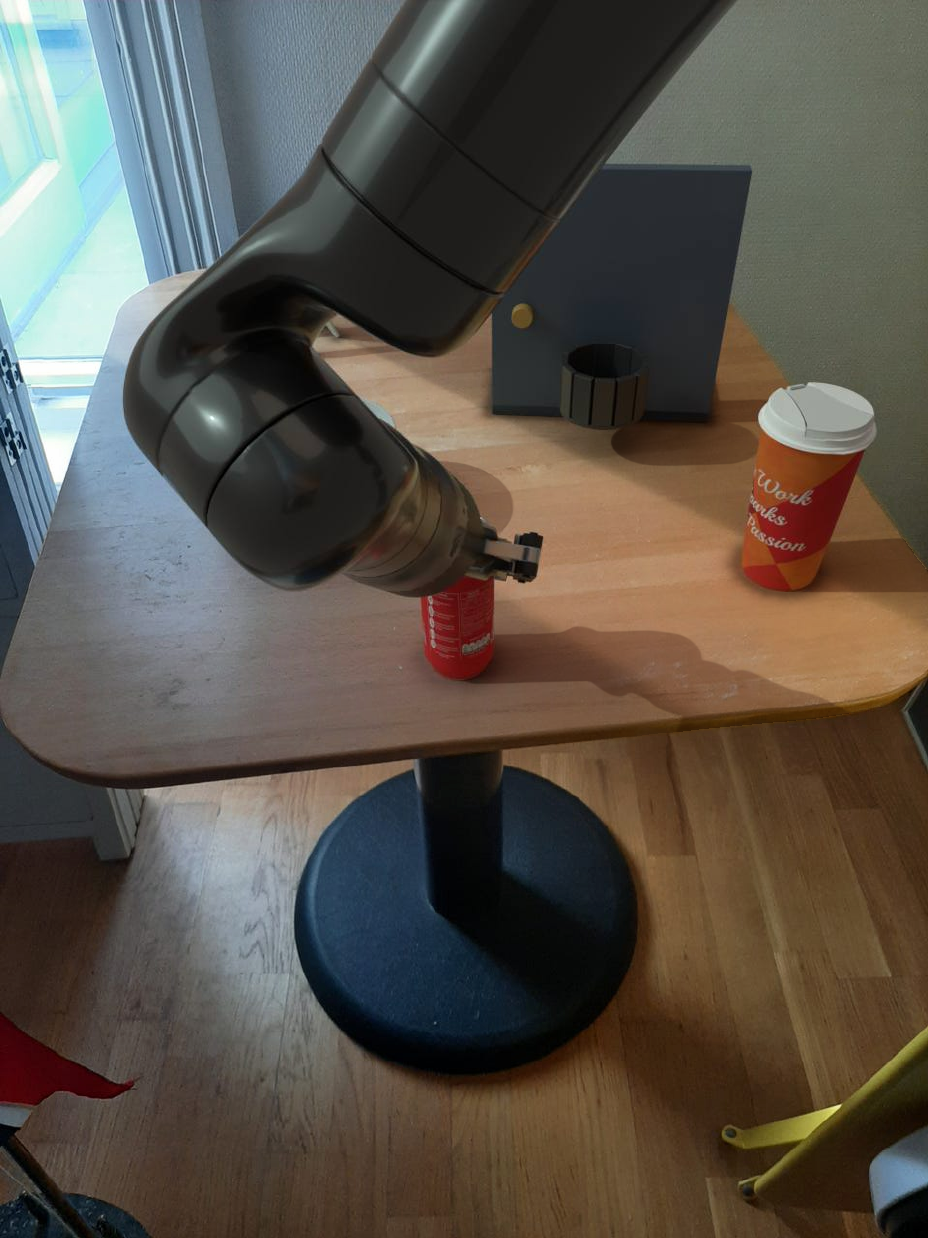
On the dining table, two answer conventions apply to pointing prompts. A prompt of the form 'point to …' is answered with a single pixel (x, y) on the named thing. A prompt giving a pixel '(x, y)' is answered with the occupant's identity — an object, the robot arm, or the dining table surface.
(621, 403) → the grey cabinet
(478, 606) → the beverage can
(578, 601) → the dining table surface
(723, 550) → the dining table surface
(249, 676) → the dining table surface
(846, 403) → the coffee cup
